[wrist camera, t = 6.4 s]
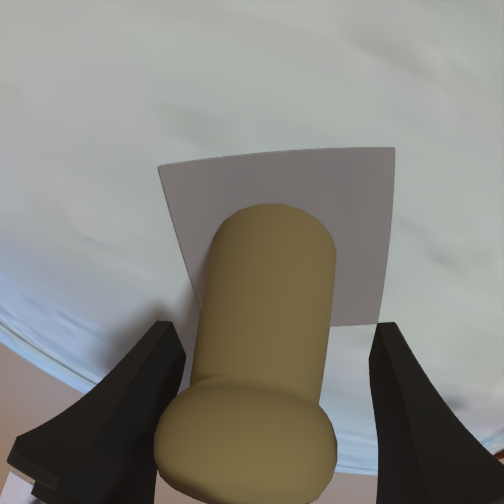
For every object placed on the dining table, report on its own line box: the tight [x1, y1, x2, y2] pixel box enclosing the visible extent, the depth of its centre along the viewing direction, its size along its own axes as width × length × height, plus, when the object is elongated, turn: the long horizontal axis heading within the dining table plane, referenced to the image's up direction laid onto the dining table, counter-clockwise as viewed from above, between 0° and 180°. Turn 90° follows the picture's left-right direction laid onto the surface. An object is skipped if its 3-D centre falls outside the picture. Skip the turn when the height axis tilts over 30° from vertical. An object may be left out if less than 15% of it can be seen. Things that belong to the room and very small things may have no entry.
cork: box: [154, 204, 337, 504], centre depth 11 cm, size 6×6×11 cm
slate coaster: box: [158, 147, 395, 327], centre depth 16 cm, size 10×10×1 cm
